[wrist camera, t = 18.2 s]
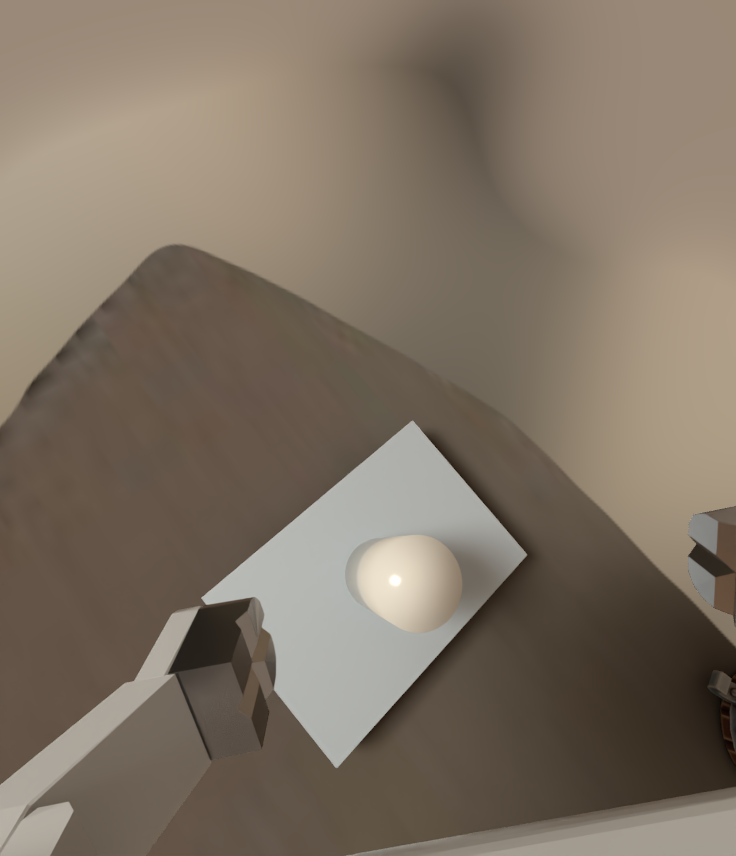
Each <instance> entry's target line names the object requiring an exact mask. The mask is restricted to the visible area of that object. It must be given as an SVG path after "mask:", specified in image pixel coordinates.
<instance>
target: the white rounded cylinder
mask: <svg viewBox="0 0 736 856" xmlns="http://www.w3.org/2000/svg"><path fill="white" fill-rule="evenodd" d="M345 578H346V584H347V587H348V590H349V592H350V594H351V595H352V597H353V598H354V599H355V600H356V601H357V602H358V603H359V604H360V605H362V606H364V607H365V608H367V609H369V610H370V611H372V612H374V613H375V614H377V615H378V616H380V617H382V618H383V619H385V620H387V621H388V622H390V623H392V624H393V625H395V626H397V627H398V628H400V629H402V630H405V631H408V632H412V633H425V632H430V631H432V630H435V629H437V628H439V627H441V626H442V625H443V624H445V623H446V622H447V621H448V620H449V619H450V618H451V617H452V615H453V614H454V612H455V611H456V609H457V607H458V605H459V602H460V599H461V594H462V575H461V571H460V567H459V565H458V562H457V560H456V558H455V557H454V555H453V554H452V552H451V551H450V550H449V549H448V548H447V547H446V546H445V545H444V544H443V543H441V542H440V541H438V540H437V539H434V538H432V537H429V536H426V535H406V536H395V537H384V538H375V539H370V540H367V541H365V542H363V543H361V544H360V545H359V546H357V547H356V548H355V549H354V551H353V552H352V553H351V555H350V557H349V559H348V561H347V565H346V570H345Z"/></svg>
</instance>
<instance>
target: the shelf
mask: <svg viewBox="0 0 736 856" xmlns="http://www.w3.org/2000/svg"><path fill="white" fill-rule="evenodd" d="M406 535H426V536H429V537H432V538H434V539H437V540H438V541H440V542H441V543H443V544H444V545H445V546H446V547H447V548H448V549H449V550H450V551H451V552H452V554H453V555H454V557H455V558H456V560H457V562H458V565H459V567H460V571H461V575H462V594H461V599H460V602H459V605H458V607H457V609H456V611H455V612H454V614H453V615H452V617H451V618H450V619H449V620H448V621H447V622H446V623H445V624H443V625H442V626H441V627H439V628H437V629H435V630H432V631H430V632H425V633H412V632H408V631H405V630H402V629H400V628H398V627H397V626H395V625H393V624H392V623H390V622H388V621H387V620H385V619H383V618H382V617H380V616H378V615H377V614H375V613H374V612H372V611H370V610H369V609H367V608H365V607H364V606H362V605H360V604H359V603H358V602H357V601H356V600H355V599H354V598H353V597H352V595H351V594H350V592H349V590H348V587H347V584H346V578H345V570H346V565H347V561H348V559H349V557H350V555H351V553H352V552H353V551H354V549H355V548H356V547H357V546H359V545H360V544H361V543H363V542H365V541H367V540H370V539H375V538H384V537H395V536H406ZM526 556H527V554H526V552H525V551H524V550H523V549H522V548H521V547H520V545H519V544H518V543H517V542H516V541H515V540H514V538H513V537H512V536H511V535H510V534H509V533H508V531H507V530H506V529H505V528H504V527H503V526H502V524H501V523H500V522H499V521H498V520H497V519H496V517H495V516H494V515H493V514H492V513H491V512H490V510H489V509H488V508H487V507H486V506H485V505H484V503H483V502H482V501H481V500H480V499H479V498H478V496H477V495H476V494H475V493H474V492H473V491H472V489H471V488H470V487H469V486H468V485H467V484H466V482H465V481H464V480H463V479H462V478H461V476H460V475H459V474H458V473H457V472H456V471H455V469H454V468H453V467H452V466H451V465H450V464H449V462H448V461H447V460H446V459H445V458H444V457H443V455H442V454H441V453H440V452H439V451H438V450H437V448H436V447H435V446H434V445H433V444H432V443H431V441H430V440H429V439H428V438H427V437H426V436H425V434H424V433H423V432H422V431H421V430H420V429H419V427H418V426H417V425H416V424H415V423H414V422H413V420H412V421H411V422H410V423H409V424H408V425H406V426H405V427H404V428H403V429H402V430H401V431H399V432H398V433H397V434H396V435H395V436H393V437H392V438H391V439H390V440H389V441H387V442H386V443H385V444H384V445H383V446H382V447H380V448H379V449H378V450H377V451H376V452H374V453H373V454H372V455H371V456H370V457H368V458H367V459H366V460H365V461H364V462H363V463H361V464H360V465H359V466H358V467H357V468H355V469H354V470H353V471H352V472H351V473H349V474H348V475H347V476H346V477H345V478H343V479H342V480H341V481H340V482H339V483H338V484H336V485H335V486H334V487H333V488H332V489H330V490H329V491H328V492H327V493H326V494H324V495H323V496H322V497H321V498H320V499H319V500H317V501H316V502H315V503H314V504H313V505H311V506H310V507H309V508H308V509H307V510H305V511H304V512H303V513H302V514H301V515H299V516H298V517H297V518H296V519H295V520H294V521H292V522H291V523H290V524H289V525H288V526H286V527H285V528H284V529H283V530H282V531H280V532H279V533H278V534H277V535H276V536H275V537H273V538H272V539H271V540H270V541H269V542H267V543H266V544H265V545H264V546H263V547H261V548H260V549H259V550H258V551H257V552H255V553H254V554H253V555H252V556H251V557H250V558H248V559H247V560H246V561H245V562H244V563H242V564H241V565H240V566H239V567H238V568H236V569H235V570H234V571H233V572H232V573H231V574H229V575H228V576H227V577H226V578H225V579H223V580H222V581H221V582H220V583H219V584H217V585H216V586H215V587H214V588H213V589H212V590H210V591H209V592H208V593H207V594H206V595H204V596H203V597H202V599H203V601H204V602H205V603H206V604H207V605H209V604H215V603H221V602H227V601H233V600H239V599H245V598H251V597H256V598H257V599H258V600H260V603H261V606H262V609H263V612H264V619H263V623H262V628H263V629H264V630H266V631H267V632H268V633H270V634H271V637H272V640H273V643H274V648H275V654H276V679H275V685H274V690H275V692H276V693H277V694H278V695H279V697H280V698H281V699H282V700H283V702H284V703H285V704H286V705H287V707H288V708H289V709H290V710H291V712H292V713H293V714H294V715H295V717H296V718H297V719H298V721H299V722H300V723H301V724H302V726H303V727H304V728H305V729H306V731H307V732H308V733H309V734H310V736H311V737H312V738H313V739H314V741H315V742H316V743H317V745H318V746H319V747H320V748H321V750H322V751H323V752H324V753H325V755H326V756H327V757H328V758H329V760H330V761H331V762H332V763H333V765H334V766H335V767H336V768H337V767H338V766H339V765H340V764H341V763H342V762H343V761H344V760H345V758H346V757H347V756H348V755H349V754H350V753H351V752H352V751H353V749H354V748H355V747H356V746H357V745H358V744H359V743H360V742H361V741H362V739H363V738H364V737H365V736H366V735H367V734H368V733H369V732H370V730H371V729H372V728H373V727H374V726H375V725H376V724H377V723H378V722H379V720H380V719H381V718H382V717H383V716H384V715H385V714H386V713H387V711H388V710H389V709H390V708H391V707H392V706H393V705H394V704H395V702H396V701H397V700H398V699H399V698H400V697H401V696H402V695H403V694H404V692H405V691H406V690H407V689H408V688H409V687H410V686H411V685H412V683H413V682H414V681H415V680H416V679H417V678H418V677H419V676H420V675H421V673H422V672H423V671H424V670H425V669H426V668H427V667H428V666H429V664H430V663H431V662H432V661H433V660H434V659H435V658H436V657H437V655H438V654H439V653H440V652H441V651H442V650H443V649H444V648H445V647H446V645H447V644H448V643H449V642H450V641H451V640H452V639H453V638H454V636H455V635H456V634H457V633H458V632H459V631H460V630H461V629H462V628H463V626H464V625H465V624H466V623H467V622H468V621H469V620H470V619H471V617H472V616H473V615H474V614H475V613H476V612H477V611H478V610H479V608H480V607H481V606H482V605H483V604H484V603H485V602H486V601H487V600H488V598H489V597H490V596H491V595H492V594H493V593H494V592H495V591H496V589H497V588H498V587H499V586H500V585H501V584H502V583H503V582H504V580H505V579H506V578H507V577H508V576H509V575H510V574H511V573H512V572H513V570H514V569H515V568H516V567H517V566H518V565H519V564H520V563H521V561H522V560H523V559H524V558H525V557H526Z"/></svg>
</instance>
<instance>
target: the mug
mask: <svg viewBox="0 0 736 856" xmlns="http://www.w3.org/2000/svg"><path fill="white" fill-rule="evenodd" d="M707 688H708V689H709V690H710V691H711V692H712V693H714V694H715V695H717V696H718V697H720V698H722V701H721V707H720V723H721V729H722V733H723V738H724V741H725V744H726V747H727V749H728V751H729V754H730V756H731V758H732V760H733V762H734V764H735V765H736V674H735V675H734V676H733V677H732V678H730V677H729V676H727V675H726V674H725V673H723V672H721V671H716V670H713V671H712V674H711V677H710V680H709V683H708V687H707Z"/></svg>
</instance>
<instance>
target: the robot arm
mask: <svg viewBox="0 0 736 856" xmlns="http://www.w3.org/2000/svg"><path fill="white" fill-rule="evenodd" d="M689 536H690V537H691V538H692V539H693V541H695V542H696V546H695V547H694V548H693V550H692V551H691V553H690V554H689V555H688V572H689V575H690V577H691V580H692V582H693V585H694V587H695V588H696V590H697V591H698V593H699V594H700V595H701V597H702V598H703V599H705V601H707V602H708V603H709V604H710V605H711V606H712V607H713V608H715V609H718V610H720V611H723V612H726V613H728V614H731V615H733V617H734V623H735V627H736V506H734V507H729V508H725V509H719V510H715V511H709V512H704V513H700V514H695V515H693V517H692V518H691V520H690V522H689ZM263 619H264V612H263V609H262V606H261V603H260V600H258V599H257V598H256V597H251V598H245V599H239V600H233V601H227V602H221V603H215V604H209V605H204V606H197V607H192V608H187V609H182V610H178V611H176V612H174V613H173V614H172V615H171V616H170V618H169V620H168V622H167V623H166V625H165V627H164V629H163V631H162V632H161V634H160V636H159V638H158V639H157V641H156V643H155V645H154V647H153V648H152V650H151V652H150V654H149V656H148V657H147V659H146V661H145V663H144V664H143V666H142V668H141V670H140V672H139V673H138V675H137V677H136V679H135V680H134V681H133V682H128V683H125V684H123V685H122V686H121V687H120V688H118V689H117V690H116V691H115V692H114V693H112V694H111V695H110V696H109V697H107V698H106V699H105V700H104V701H103V702H101V703H100V704H99V705H98V706H96V707H95V708H94V709H93V710H92V711H90V712H89V713H88V714H87V715H85V716H84V717H83V718H82V719H81V720H79V721H78V722H77V723H76V724H74V725H73V726H72V727H71V728H70V729H68V730H67V731H66V732H65V733H63V734H62V735H61V736H60V737H59V738H57V739H56V740H55V741H54V742H52V743H51V744H50V745H49V746H47V747H46V748H45V749H44V750H43V751H41V752H40V753H39V754H38V755H36V756H35V757H34V758H33V759H32V760H30V761H29V762H28V763H27V764H25V765H24V766H23V767H22V768H21V769H19V770H18V771H17V772H16V773H14V774H13V775H12V776H11V777H10V778H8V779H7V780H6V781H5V782H3V783H2V784H1V785H0V856H146V855H147V853H148V852H149V850H150V849H151V848H152V846H153V845H154V843H155V842H156V841H157V839H158V838H159V836H160V835H161V834H162V832H163V831H164V829H165V828H166V827H167V825H168V824H169V822H170V821H171V820H172V818H173V817H174V815H175V814H176V813H177V811H178V810H179V808H180V807H181V806H182V804H183V803H184V801H185V800H186V799H187V797H188V796H189V794H190V793H191V792H192V790H193V789H194V787H195V786H196V785H197V783H198V782H199V780H200V779H201V778H202V776H203V775H204V773H205V772H206V771H207V769H208V768H209V766H210V765H211V761H210V760H215V759H220V758H224V757H229V756H234V755H238V754H243V753H247V752H252V751H257V750H261V749H262V747H263V741H264V736H265V731H266V726H267V721H268V716H269V710H268V707H267V703H266V700H265V699H266V698H267V697H268V695H269V694H270V693H271V692H272V691H273V690H274V685H275V679H276V654H275V648H274V643H273V640H272V637H271V634H270V633H268V632H267V631H266V630H264V629H263V628H262V623H263ZM347 856H736V787H732V788H726V789H720V790H715V791H709V792H703V793H698V794H692V795H686V796H681V797H675V798H669V799H664V800H658V801H652V802H647V803H641V804H635V805H630V806H624V807H618V808H613V809H607V810H601V811H596V812H590V813H584V814H579V815H573V816H567V817H562V818H556V819H550V820H545V821H539V822H533V823H528V824H522V825H516V826H510V827H505V828H499V829H493V830H488V831H482V832H476V833H471V834H465V835H459V836H454V837H448V838H443V839H437V840H431V841H426V842H420V843H414V844H409V845H403V846H397V847H392V848H386V849H380V850H375V851H369V852H363V853H358V854H352V855H347Z"/></svg>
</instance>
